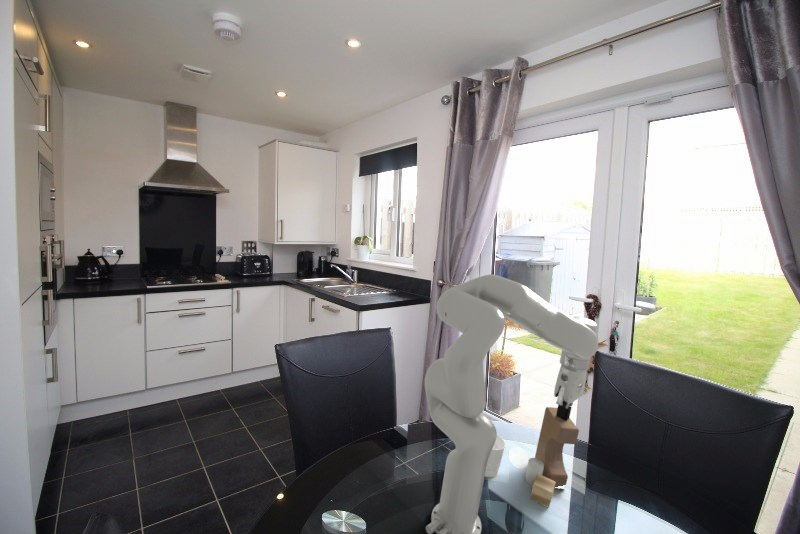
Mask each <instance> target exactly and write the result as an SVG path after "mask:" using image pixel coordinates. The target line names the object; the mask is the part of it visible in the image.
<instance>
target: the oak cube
mask: <svg viewBox="0 0 800 534" xmlns="http://www.w3.org/2000/svg"><path fill="white" fill-rule="evenodd" d="M555 484H556V482H555V481H553V480H551V479H549V478H546V477H544V476H542V475H540V474H537V477H536V479H535V481H534V484H533V486H532V488H531V489H532V490H531V494H530V500H532V501H534V502H536V503H538V504H540V505H542V504H543V505H542V506H544V505H545V506H544V507H546V506H548V507H549V508H550V505H551V502H552V500H551V499H553V497H552V496H554V492H555V489H554V488H555ZM548 507H547V508H548Z"/></svg>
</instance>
